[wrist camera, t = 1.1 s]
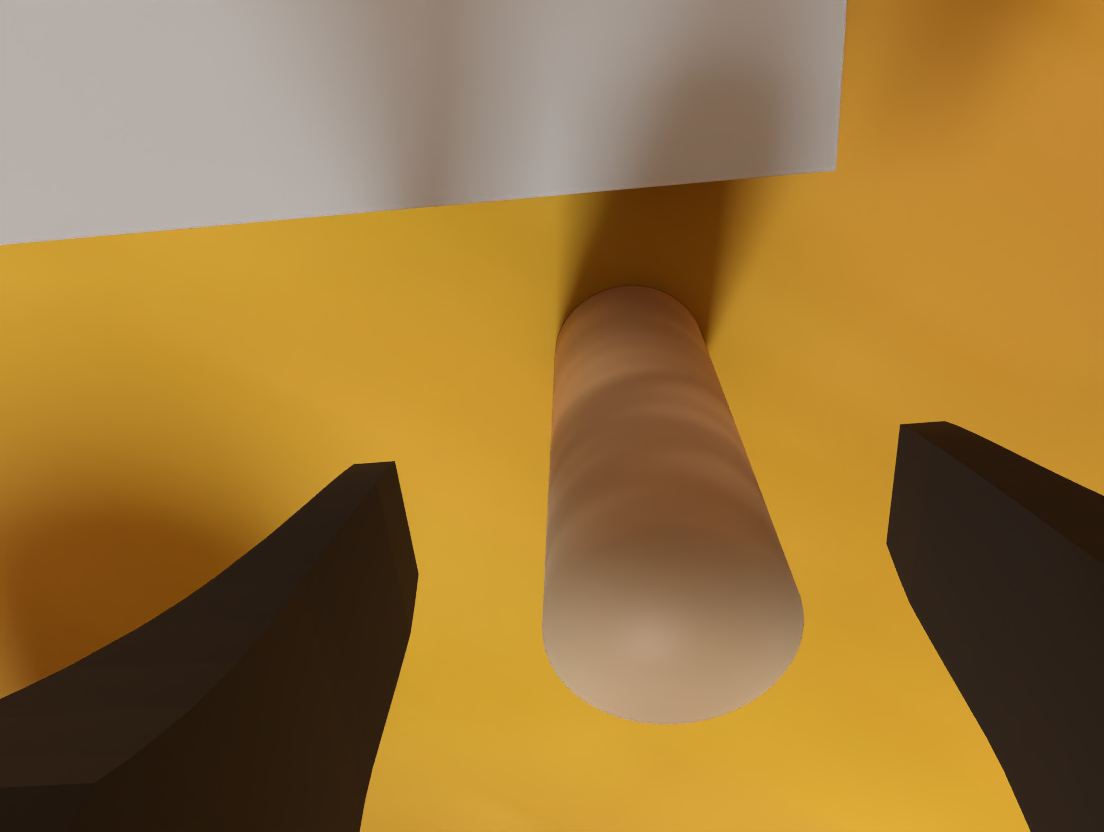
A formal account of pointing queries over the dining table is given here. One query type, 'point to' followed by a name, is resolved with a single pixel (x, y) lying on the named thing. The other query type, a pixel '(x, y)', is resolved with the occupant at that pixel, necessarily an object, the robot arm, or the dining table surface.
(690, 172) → the hole board
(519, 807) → the dining table surface
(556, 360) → the dowel
